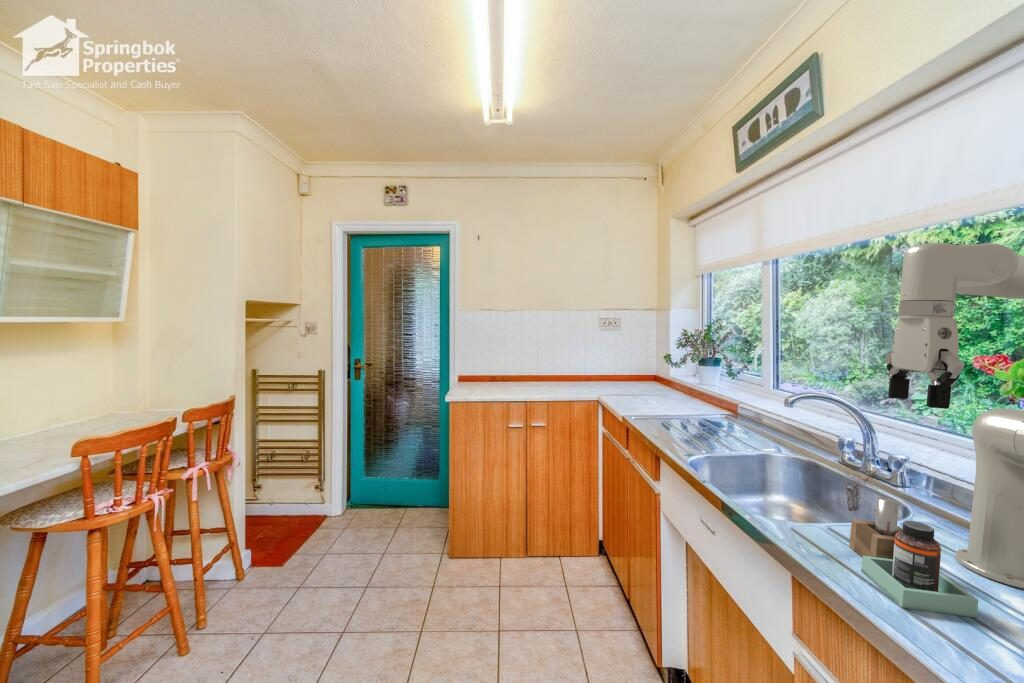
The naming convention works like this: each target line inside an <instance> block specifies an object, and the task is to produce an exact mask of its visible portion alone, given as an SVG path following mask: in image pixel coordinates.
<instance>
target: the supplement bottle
mask: <svg viewBox="0 0 1024 683" xmlns="http://www.w3.org/2000/svg"><path fill="white" fill-rule="evenodd" d="M901 528H902V529H903V530H901V531H899V532H897V533H896V535H895V542H894V555H893V568H892V577H893V578H894V579H896V580H897V581H898V582H899V583H900V584H902V585H903V586H904V587H905V588H911V589H919V590H927V591H934V592H938V586H939V573H941V572H940V570H941V568H940V567H941V560H942V559H941V556H942V547H941V544H940V543H939V542H938V541H937V540H935V529H934V528H933V527H932V526H931V525H928V524H926V523H923V522H919V521H915V520H904V521H903V522H902V527H901Z"/></svg>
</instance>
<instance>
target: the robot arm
mask: <svg viewBox="0 0 1024 683" xmlns="http://www.w3.org/2000/svg"><path fill="white" fill-rule="evenodd" d="M900 280H901V283H900V292H899V303H898V315H897V319H898V320H897V324H896V326H895V327H896V328H895V331H894V336H893V341H892V348H891V351H890V352H889V353H887V354H885V355H884V356H885V362H886V368H887V371H888V373H887V377H888V378H889V382H888V384H889V385H888V393H887V394H888V395H887V397H888V398H890V399H900V400H908V398H909V393H910V391H909V390H910V382H911V379H910V378H908V377H909V376H910V374H912V373H913V372H914V373H920V374H927V377H928V379H929V381H930V384H928V385H927V396H926V407H927V408H933V409H947V410H948V409H949V408H950V404H951V396H952V387H955V385H956V381H958V380H959V378H960V377H961V376H960V374H961V373H962V371H963V369H964V368H965V362H964V361H963V360H961V359H960V358H959V352H960V351H959V350H960V347H959V344H960V342H959V330H958V324H957V319H955V318H954V316H955V306H956V298H957V294H959V295H960V294H961V295H970V296H983V297H993V298H994V297H995V298H1003V299H1013V300H1024V255H1017V253H1016V252H1015V251H1014V250H1013V249H1012V248H1010V247H1008V246H1006V245H1004V244H1003V245H1002V244H998V243H988V242H987V243H978V244H977V243H976V244H959V245H958V244H954V243H948V242H947V243H946V242H938V243H937V242H935V243H934V242H933V243H922V244H916V245H913V246H911V247H908V248H907V249H906V250H905V252H904V254H903V261H902V270H901V279H900ZM972 439H973V440H972V441H973V444H974V450H975V478H974V486H973V493H972V494H973V496H972V504H971V516H970V523H969V531H968V532H969V533H968V542H967V548H962V549H959V550H957V551H956V552H955V559H956V561H957V562H958V563H959V564H961V565H962V566H963V567H965V568H967V569H968V570H970V571H972V572H974V573H976V574H977V575H980V576H983V577H985V578H988V579H991V580H993V581H995V582H998V583H1002V584H1004V585H1005V584H1006V585H1008V586H1012V587H1015V588H1019V589H1024V410H1020V409H1015V408H994V409H988V410H986V411H984V412H982V413H980V414H979V415H978V416H977V417H976V419H975V420H974V422H973V425H972Z"/></svg>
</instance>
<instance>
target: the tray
mask: <svg viewBox="0 0 1024 683" xmlns="http://www.w3.org/2000/svg"><path fill="white" fill-rule="evenodd" d="M892 568H893V559H886V558H877V557H869V556H862V557H861V570H860V571H861V573H862V574H863V575H865V576H866V577H867V578H868V579H869V580H870V581H872V582H873V584H875V585H876V586H877V587H878V588H879V589H880V590H882V591H883V592H884V593H885V594H886V595H888V597H889V598H891V600H892V601H894V602H895V603H896V604H897V605H898V606H900V608H903V609H910V610H916V611H924V612H931V613H938V614H939V613H940V614H944V615H945V614H946V615H954V616H961V617H968V618H969V617H970V618H977V616H978V608H979V607H978V606H979V599H978V598H977V597H975V596H974V595H973V594H971V593H969V592H968V591H966V590H965V589H964V588H962V587H961V586H960V585H958V584H957V583H955V582H954V581H952V580H951V579H949V578H948V577H947V576H945V575H944V574H942V573H941V572H939V586H938V592H934V591H927V590H919V589H911V588H905V587H904V586H903V585H902V584H900V583H899V582H898V581H897V580H896V579H894V578H893V577H892Z"/></svg>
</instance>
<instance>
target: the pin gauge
mask: <svg viewBox="0 0 1024 683" xmlns="http://www.w3.org/2000/svg"><path fill="white" fill-rule="evenodd" d="M876 500H877V501H876V511H875V512H876V513H875V522H876V525H875V531H876V532H878V533H879V534H881V535H885V536H894V537H895V535H896V533H897V526H898V519H899V518H898V517H899V506H900V504H899V501H897V500H896V499H893V498H888V497H883V496H878V497H877V499H876Z"/></svg>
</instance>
